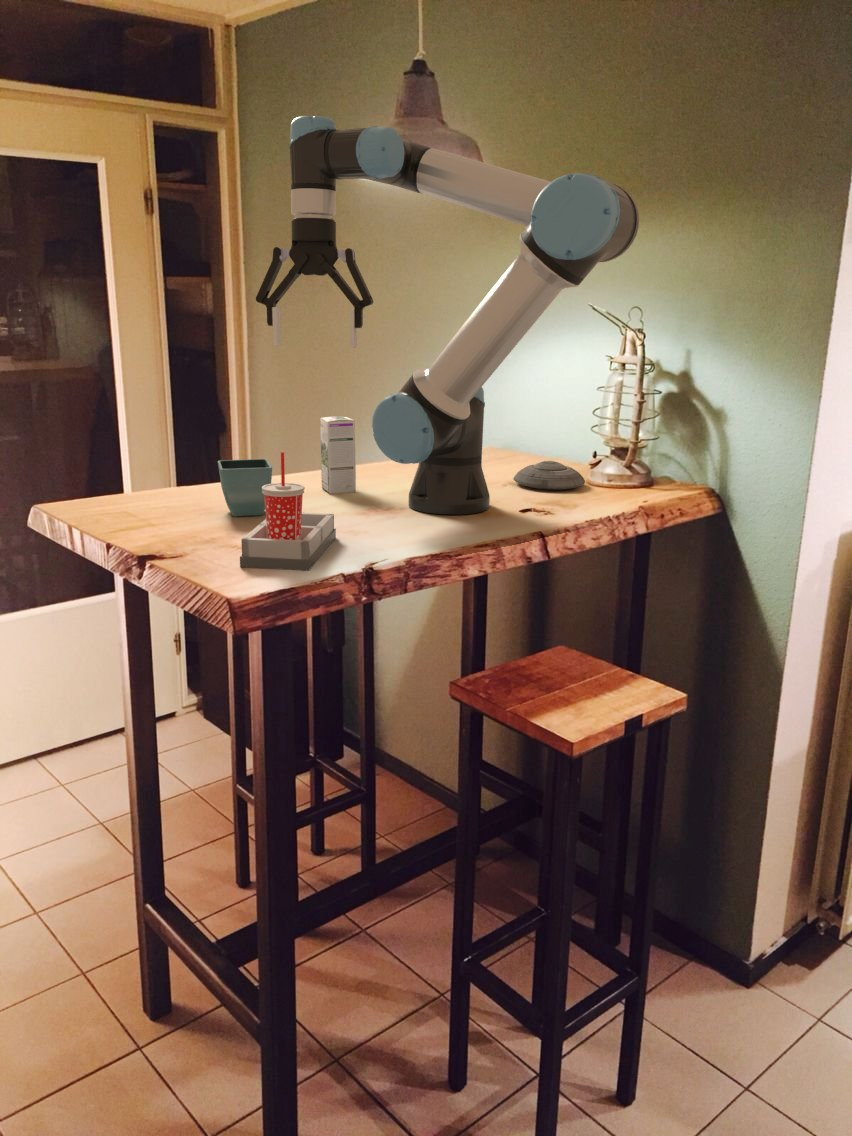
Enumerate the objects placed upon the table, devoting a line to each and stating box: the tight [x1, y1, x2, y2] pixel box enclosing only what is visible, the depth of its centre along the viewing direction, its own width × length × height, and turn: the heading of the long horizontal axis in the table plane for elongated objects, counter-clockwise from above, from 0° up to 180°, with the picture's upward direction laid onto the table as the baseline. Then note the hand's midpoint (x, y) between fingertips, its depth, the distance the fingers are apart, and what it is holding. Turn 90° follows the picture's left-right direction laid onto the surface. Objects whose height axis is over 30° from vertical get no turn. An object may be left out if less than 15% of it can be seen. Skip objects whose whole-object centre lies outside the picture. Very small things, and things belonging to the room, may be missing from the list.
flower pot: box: [217, 458, 273, 517], centre depth 164 cm, size 9×9×9 cm
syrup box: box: [319, 415, 357, 495], centre depth 184 cm, size 6×6×14 cm
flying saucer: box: [513, 460, 586, 491], centre depth 196 cm, size 15×15×6 cm
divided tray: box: [239, 512, 337, 571], centre depth 141 cm, size 10×19×4 cm, turn 174°
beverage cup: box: [262, 451, 306, 540], centre depth 135 cm, size 6×6×14 cm
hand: (315, 346), depth 164 cm, fingers open, 13 cm apart
